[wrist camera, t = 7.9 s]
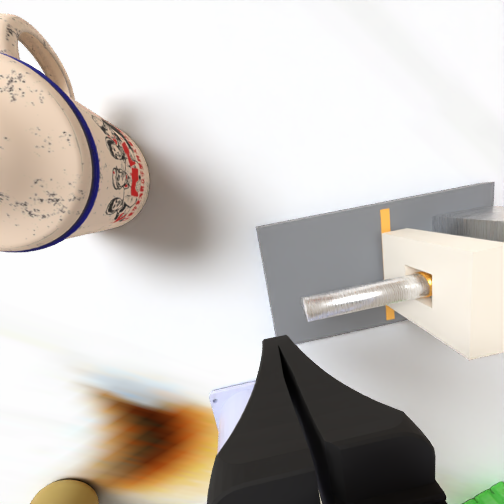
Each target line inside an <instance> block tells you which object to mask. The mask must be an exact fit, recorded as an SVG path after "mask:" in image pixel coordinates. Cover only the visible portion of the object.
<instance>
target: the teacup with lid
mask: <svg viewBox="0 0 504 504" xmlns="http://www.w3.org/2000/svg"><path fill="white" fill-rule="evenodd" d="M18 40H19V41H20V42H21V43H22V44H23V45H24V46H25V47H26V48H27V49H28V50H29V51H30V53H31V54H32V55H33V56H34V58H35V59H36V61H37V62H38V63H39V65H40V66H41V68H42V70H43V72H44V73H45V75H46V76H45V75H44V74H43V73H41V72H40V71H39V70H37V69H35V68H34V67H32V66H30V65H29V64H27V63H25V62H23V61H21V60H20V58H19V52H18ZM149 186H150V178H149V171H148V167H147V164H146V161H145V159H144V156H143V155H142V153H141V151H140V149H139V148H138V146H137V145H136V144H135V143H134V141H133V140H132V139H131V138H130V137H129V136H128V135H126V134H125V133H124V132H123V131H121V130H120V129H118V128H117V127H115V126H114V125H112V124H111V123H109V122H108V121H106V120H104V119H103V118H101V117H100V116H98V115H97V114H95V113H94V112H92V111H91V110H89V109H87V108H86V107H84V106H83V105H81V104H80V103H78V102H77V101H75V98H74V93H73V90H72V86H71V83H70V80H69V78H68V75H67V73H66V71H65V69H64V67H63V65H62V63H61V61H60V60H59V58H58V56H57V55H56V53H55V52H54V50H53V49H52V48H51V46H50V45H49V44H48V42H47V41H46V40H45V39H44V38H43V36H42V35H41V34H40V33H39V32H38V31H37V30H36V29H35V28H34V27H33V26H32V25H30V24H29V23H28V22H26V21H25V20H23V19H22V18H20V17H18V16H15V15H11V14H0V251H2V252H29V251H35V250H40V249H44V248H47V247H50V246H52V245H55V244H57V243H59V242H61V241H63V240H64V239H68V238H72V237H76V236H81V235H85V234H90V233H94V232H99V231H103V230H108V229H112V228H116V227H119V226H122V225H124V224H126V223H127V222H129V221H131V220H132V219H133V218H134V217H135V216H136V215H137V214H138V213H139V212H140V211H141V209H142V208H143V206H144V204H145V202H146V200H147V197H148V193H149Z"/></svg>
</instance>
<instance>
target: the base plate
mask: <svg viewBox="0 0 504 504" xmlns="http://www.w3.org/2000/svg"><path fill="white" fill-rule="evenodd" d="M493 201H494V182H487V183H478V184H473V185H468V186H463V187H457V188H452V189H447V190H442V191H437V192H432V193H427V194H422V195H416V196H411V197H406V198H401V199H396V200H391V201H386V202H381V203H375V204H370V205H365V206H360V207H355V208H350V209H345V210H339V211H334V212H329V213H324V214H319V215H314V216H309V217H304V218H298V219H293V220H288V221H283V222H278V223H273V224H268V225H263V226H257V227H256V230H257V235H258V241H259V246H260V252H261V257H262V263H263V268H264V274H265V279H266V285H267V290H268V296H269V302H270V307H271V313H272V318H273V324H274V329H275V335H276V337H278V336H282V335H287V336H289V338H290V339H291V340H292V341H293V342H294V344H299V343H304V342H308V341H313V340H317V339H322V338H326V337H331V336H336V335H340V334H345V333H349V332H354V331H358V330H363V329H367V328H372V327H377V326H381V325H386V324H390V323H395V322H399V321H404V320H408V319H407V318H405V317H404V316H402V315H401V314H399V313H398V312H396V311H395V310H393V309H392V308H390V307H389V306H387V305H384V306H380V307H375V308H370V309H366V310H361V311H356V312H352V313H347V314H342V315H338V316H333V317H328V318H324V319H319V320H314V321H310V322H307V321H306V319H305V317H304V314H303V310H302V306H301V297H306V296H310V295H315V294H320V293H325V292H329V291H334V290H339V289H344V288H348V287H353V286H358V285H363V284H367V283H372V282H377V281H382V280H384V266H383V248H382V233H385V232H390V231H395V230H400V229H405V228H410V229H417V230H424V231H430V232H432V216H436V215H441V214H446V213H451V212H456V211H461V210H466V209H471V208H476V207H481V206H493Z"/></svg>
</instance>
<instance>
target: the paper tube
mask: <svg viewBox="0 0 504 504" xmlns="http://www.w3.org/2000/svg"><path fill="white" fill-rule="evenodd" d="M30 504H99V501H98V496H97V494H96V492H95V491H94V490H93V489H92V488H91V487H90V486H89V485H87V484H85V483H83V482H81V481H77V480H60V481H56V482H53V483H51V484H49V485H47V486H46V487H44V488H43V489H41V490H40V491H39V492H38V493H37V494H36V496H35V497H34V498H33V500H32V501H31V503H30Z"/></svg>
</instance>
